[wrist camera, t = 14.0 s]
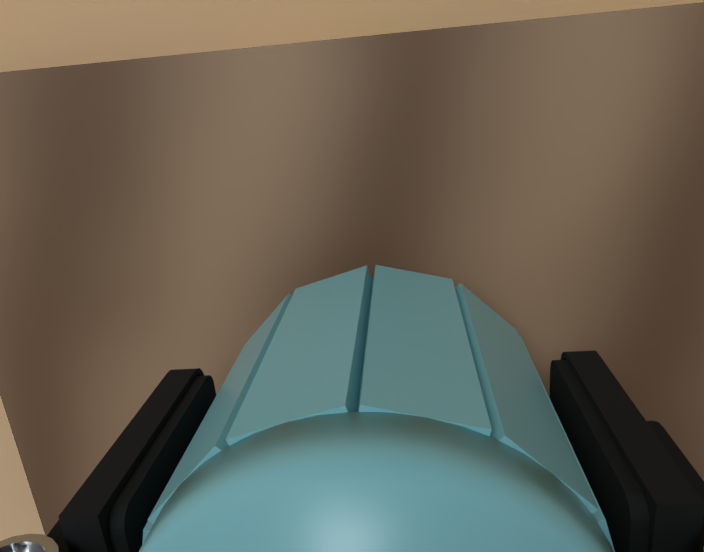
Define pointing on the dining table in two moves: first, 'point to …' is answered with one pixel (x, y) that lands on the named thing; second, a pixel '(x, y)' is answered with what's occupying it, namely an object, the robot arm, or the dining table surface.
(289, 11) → the dining table surface
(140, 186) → the post board
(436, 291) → the cap
